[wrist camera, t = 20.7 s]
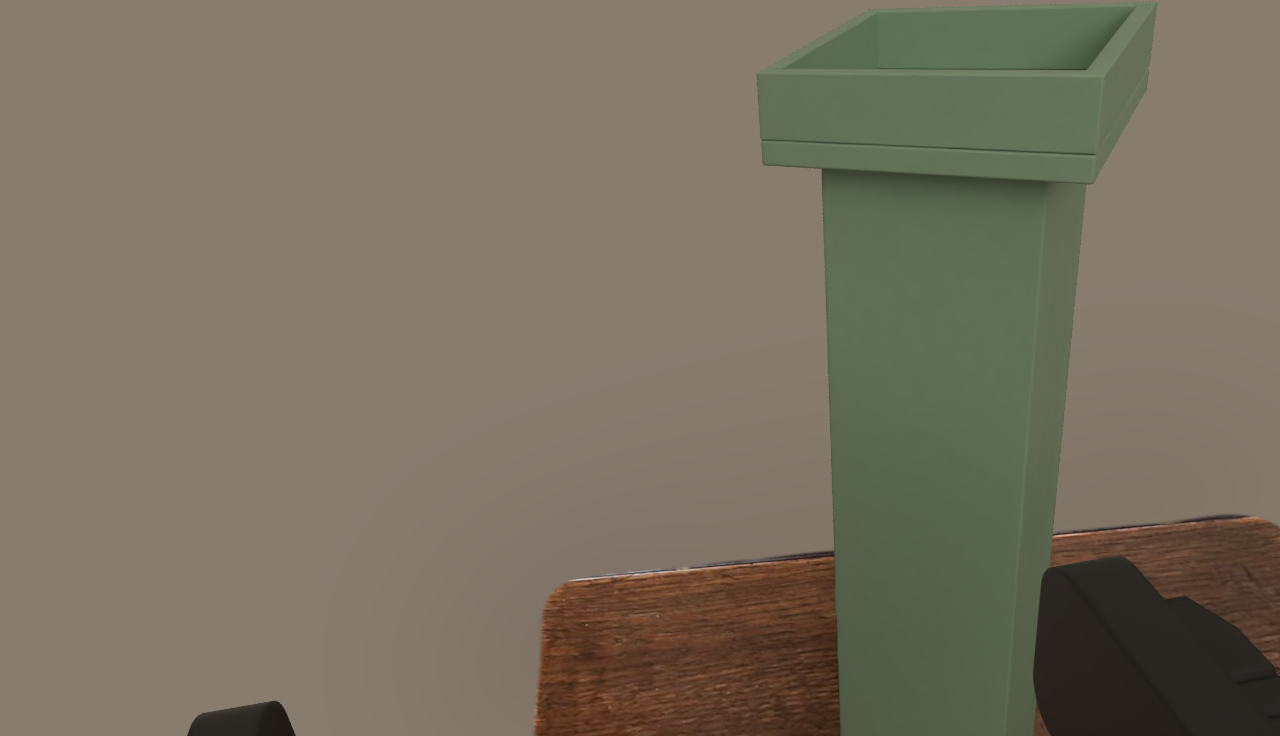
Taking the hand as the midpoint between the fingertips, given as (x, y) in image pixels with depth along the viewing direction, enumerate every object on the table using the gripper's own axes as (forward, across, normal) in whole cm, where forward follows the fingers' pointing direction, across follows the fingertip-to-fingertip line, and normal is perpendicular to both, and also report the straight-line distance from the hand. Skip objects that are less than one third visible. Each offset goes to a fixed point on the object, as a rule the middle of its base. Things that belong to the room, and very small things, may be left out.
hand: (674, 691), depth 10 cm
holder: (+15, -9, +28) cm, 33 cm away
